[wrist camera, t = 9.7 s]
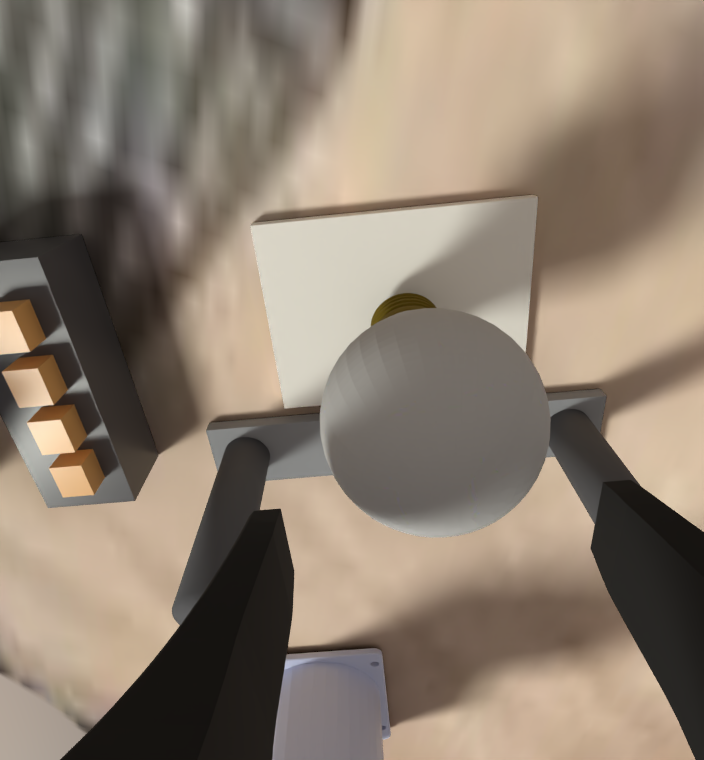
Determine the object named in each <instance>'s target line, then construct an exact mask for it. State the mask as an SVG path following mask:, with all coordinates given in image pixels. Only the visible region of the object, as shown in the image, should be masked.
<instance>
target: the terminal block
mask: <svg viewBox="0 0 704 760" xmlns="http://www.w3.org/2000/svg"><path fill="white" fill-rule="evenodd" d="M0 415H1V417H2V419H3V421H4V423H5V425H6V427H7V429H8V431H9V433H10V435H11V436H12V438H13V440H14V442H15V444H16V446H17V448H18V450H19V452H20V454H21V456H22V458H23V460H24V462H25V464H26V466H27V468H28V470H29V472H30V474H31V475H32V477H33V479H34V481H35V483H36V485H37V487H38V489H39V491H40V493H41V495H42V497H43V499H44V501H45V503H46V505H47V507H48V508H54V507H66V506H78V505H90V504H102V503H114V502H127V501H135V500H136V498H137V496H138V494H139V492H140V490H141V488H142V486H143V484H144V482H145V480H146V478H147V477H148V475H149V473H150V471H151V469H152V467H153V465H154V463H155V461H156V459H157V457H158V452H157V449H156V447H155V444H154V441H153V438H152V435H151V432H150V429H149V426H148V424H147V421H146V418H145V415H144V412H143V409H142V406H141V404H140V401H139V398H138V395H137V392H136V389H135V386H134V384H133V381H132V378H131V375H130V372H129V369H128V366H127V363H126V361H125V358H124V355H123V352H122V349H121V346H120V343H119V341H118V338H117V335H116V332H115V329H114V326H113V323H112V320H111V318H110V315H109V312H108V309H107V306H106V303H105V300H104V298H103V295H102V292H101V289H100V286H99V283H98V280H97V278H96V275H95V272H94V269H93V266H92V263H91V260H90V257H89V255H88V252H87V249H86V246H85V243H84V240H83V237H82V235H81V234H77V235H67V236H58V237H48V238H38V239H28V240H18V241H8V242H0Z"/></svg>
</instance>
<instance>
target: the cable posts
mask: <svg viewBox="0 0 704 760" xmlns="http://www.w3.org/2000/svg"><path fill="white" fill-rule="evenodd" d="M546 394H547V398H548V404H549V410H550V418H551V421H550V440H549V446H548V450H547V454H546V457H556V459H557V460H558V462H559V464H560V465H561V467H562V469H563V471H564V472H565V474H566V476H567V477H568V479H569V481H570V483H571V484H572V486H573V488H574V489H575V491H576V493H577V495H578V496H579V498H580V500H581V501H582V503H583V505H584V506H585V508H586V510H587V512H588V513H589V515H590V517H591V518H592V520H593V522H594V524H595V522H596V517H597V511H598V506H599V500H600V495H601V489H602V484H603V482H609V481H621V480H632V481H634V482H635V483H636V484H638V485H639V483H638V482H637V481H636V479H635V478H634V477H633V475H632V474H631V473H630V471H629V470H628V469H627V467H626V466H625V465H624V463H623V462H622V461H621V460H620V458H619V457H618V456H617V454H616V453H615V452H614V450H613V449H612V448H611V446H610V445H609V444H608V442H607V441H606V440H605V438H604V437H603V436H602V435H601V433H600V431H601V425H602V420H603V414H604V408H605V402H606V397H607V396H606V395H605V394H604V392H603V391H602V390H601V389H592V390H580V391H569V392H557V393H546ZM206 432H207V435H208V439H209V443H210V446H211V450H212V453H213V457H214V460H215V464H216V467H217V471H218V473H217V476H216V479H215V482H214V485H213V488H212V491H211V494H210V497H209V499H208V502H207V505H206V508H205V511H204V514H203V517H202V520H201V523H200V526H199V529H198V532H197V535H196V538H195V541H194V544H193V547H192V550H191V553H190V556H189V559H188V562H187V565H186V568H185V571H184V574H183V577H182V580H181V583H180V586H179V589H178V592H177V595H176V598H175V601H174V604H173V607H172V614H173V617H174V619H175V620H176V622H177V623H178V624H179V625H181V624H182V622H183V621H184V619H185V618H186V617H187V615H188V614H189V612H190V611H191V610H192V608H193V607H194V605H195V604H196V603H197V601H198V600H199V598H200V597H201V595H202V594H203V593H204V591H205V590H206V588H207V586H208V585H209V583H210V582H211V580H212V579H213V577H214V576H215V574H216V572H217V571H218V569H219V568H220V566H221V565H222V563H223V561H224V560H225V558H226V556H227V555H228V553H229V551H230V550H231V548H232V546H233V545H234V543H235V541H236V540H237V538H238V536H239V534H240V533H241V531H242V529H243V527H244V525H245V524H246V522H247V520H248V518H249V516H250V515H251V514H252V513H253V512H254V511H259V510H260V505H261V500H262V495H263V490H264V485H265V481H268V480H280V479H292V478H304V477H316V476H328V475H333V474H332V471H331V469H330V467H329V464H328V462H327V460H326V457H325V454H324V449H323V445H322V441H321V435H320V413H316V414H305V415H293V416H282V417H270V418H259V419H247V420H236V421H224V422H213V423H209V425H208V427H207V430H206ZM639 486H640V485H639Z"/></svg>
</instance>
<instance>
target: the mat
mask: <svg viewBox="0 0 704 760" xmlns="http://www.w3.org/2000/svg"><path fill="white" fill-rule="evenodd" d="M537 206H538V197H537V196H535V195H524V196H514V197H504V198H495V199H485V200H475V201H465V202H455V203H445V204H435V205H425V206H415V207H405V208H395V209H385V210H375V211H365V212H355V213H345V214H335V215H325V216H315V217H305V218H295V219H285V220H275V221H265V222H255V223H252V224H251V225H250V227H251V233H252V238H253V243H254V249H255V254H256V259H257V265H258V270H259V275H260V281H261V286H262V291H263V297H264V302H265V307H266V313H267V318H268V323H269V329H270V334H271V339H272V345H273V350H274V355H275V361H276V366H277V371H278V376H279V382H280V387H281V392H282V398H283V403H284V408H285V409H286V408H297V407H309V406H320V405H321V403H322V396H323V392H324V389H325V386H326V383H327V380H328V377H329V375H330V373H331V371H332V369H333V367H334V366H335V364H336V362H337V360H338V358H339V357H340V356H341V355H342V353H343V352H344V351H345V350H346V348H347V347H348V346H349V345H350V343H351V342H353V341H354V340H355V339H356V338H357V337H358V336H359V335H360V334H361V333H363V332H364V331H365V330H367V329H368V328H370V327H371V320H372V317H373V314H374V313H375V311H376V309H377V308H378V307H379V305H380V304H382V303H383V302H384V301H385V300H387V299H388V298H390V297H392V296H394V295H397V294H402V293H414V294H418V295H421V296H424V297H426V298H427V299H429V300H430V301H431V302H432V303H433V304H434V305H435V306H436V308H444V309H450V310H457V311H462V312H465V313H468V314H471V315H475V316H477V317H480V318H482V319H484V320H486V321H488V322H489V323H491V324H493V325H495V326H497V327H498V328H499V329H501V330H502V331H503V332H505V333H506V334H507V335H509V336H510V337H511V338H512V339H513V340H514V341H515V342H516V343H517V344H518V345H519V346H520V347H521V348H522V349H523V350H524V351H525V353H526V343H527V330H528V318H529V305H530V293H531V280H532V268H533V255H534V243H535V230H536V218H537Z"/></svg>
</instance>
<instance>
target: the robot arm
mask: <svg viewBox="0 0 704 760" xmlns="http://www.w3.org/2000/svg"><path fill="white" fill-rule="evenodd" d="M591 550H592V553H593V555H594V558H595V561H596V563H597V566H598V568H599V571H600V573H601V576H602V578H603V580H604V583H605V585H606V588H607V590H608V592H609V594H610V596H611V598H612V600H613V602H614V604H615V605H616V607H617V609H618V611H619V613H620V614H621V616H622V618H623V620H624V622H625V624H626V625H627V627H628V629H629V631H630V633H631V634H632V636H633V638H634V640H635V642H636V643H637V645H638V647H639V649H640V651H641V652H642V654H643V656H644V658H645V660H646V661H647V663H648V665H649V667H650V668H651V670H652V672H653V674H654V676H655V677H656V679H657V681H658V683H659V685H660V686H661V688H662V690H663V692H664V694H665V695H666V697H667V699H668V701H669V703H670V705H671V707H672V709H673V711H674V713H675V715H676V717H677V719H678V721H679V723H680V726H681V728H682V730H683V732H684V735H685V737H686V739H687V741H688V744H689V746H690V748H691V750H692V753H693V755H694V757H695V759H696V760H704V532H703V531H701V530H700V529H699V528H697V527H696V526H694V525H693V524H692V523H690V522H689V521H687V520H686V519H685V518H683V517H682V516H681V515H679V514H678V513H676V512H675V511H674V510H672V509H671V508H670V507H668V506H667V505H666V504H664V503H663V502H661V501H660V500H659V499H657V498H656V497H655V496H653V495H652V494H650V493H649V492H648V491H646V490H645V489H644V488H642V487H641V486H639V485H638V484H636V483H635V482H634V481H632V480H621V481H609V482H603V484H602V489H601V495H600V500H599V506H598V511H597V517H596V522H595V527H594V533H593V538H592V544H591ZM293 591H294V568H293V563H292V559H291V554H290V550H289V545H288V541H287V536H286V531H285V527H284V522H283V518H282V513H281V509H271V510H259V511H254V512H253V513H252V514H251V515H250V516H249V518H248V520H247V522H246V524H245V525H244V527H243V529H242V531H241V533H240V534H239V536H238V538H237V540H236V541H235V543H234V545H233V546H232V548H231V550H230V551H229V553H228V555H227V556H226V558H225V560H224V561H223V563H222V565H221V566H220V568H219V569H218V571H217V572H216V574H215V576H214V577H213V579H212V580H211V582H210V583H209V585H208V586H207V588H206V590H205V591H204V593H203V594H202V595H201V597H200V598H199V600H198V601H197V603H196V604H195V605H194V607H193V608H192V610H191V611H190V612H189V614H188V615H187V617H186V618H185V619H184V621H183V622H182V624H181V625H180V626H179V628H178V629H177V631H176V632H175V633H174V634H173V636H172V637H171V638H170V640H169V641H168V642H167V644H166V645H165V646H164V647H163V649H162V650H161V651H160V652H159V654H158V655H157V656H156V657H155V659H154V660H153V661H152V662H151V663H150V665H149V666H148V667H147V668H146V669H145V671H144V672H143V673H142V674H141V675H140V677H139V678H138V679H137V680H136V681H135V682H134V683H133V684H132V686H131V687H130V688H129V689H128V690H127V691H126V692H125V693H124V695H123V696H122V697H121V698H120V699H119V700H118V701H117V702H116V704H115V705H114V706H113V707H112V708H111V709H110V710H109V711H108V712H107V713H106V714H105V715H104V716H103V718H102V719H101V720H100V721H99V722H98V723H97V724H96V725H95V726H94V727H93V728H92V729H91V730H90V731H89V732H88V733H87V734H86V735H85V736H84V737H83V738H82V739H81V740H80V741H79V742H78V743H77V744H76V745H75V746H74V747H73V748H72V749H71V750H70V751H69V752H68V753H67V754H66V755H65V756H64V757H62V759H60V760H384V755H383V739H387V738H389V737H390V735H391V731H390V721H389V712H388V703H387V693H386V684H385V675H384V665H383V656H382V651H381V650H379V649H377V648H367V649H353V650H339V651H325V652H311V653H297V654H287V648H288V642H289V635H290V628H291V621H292V612H293Z"/></svg>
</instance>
